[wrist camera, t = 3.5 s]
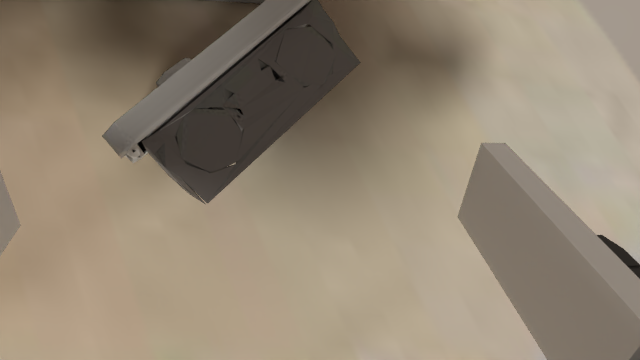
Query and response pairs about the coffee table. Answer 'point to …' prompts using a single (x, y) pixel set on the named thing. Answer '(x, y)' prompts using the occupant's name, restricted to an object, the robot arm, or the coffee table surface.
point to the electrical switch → (235, 96)
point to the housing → (247, 0)
